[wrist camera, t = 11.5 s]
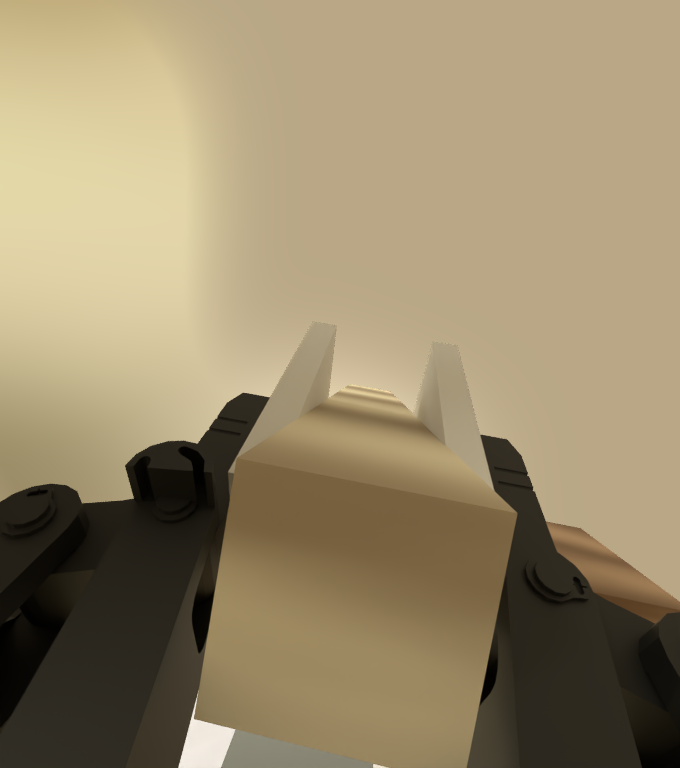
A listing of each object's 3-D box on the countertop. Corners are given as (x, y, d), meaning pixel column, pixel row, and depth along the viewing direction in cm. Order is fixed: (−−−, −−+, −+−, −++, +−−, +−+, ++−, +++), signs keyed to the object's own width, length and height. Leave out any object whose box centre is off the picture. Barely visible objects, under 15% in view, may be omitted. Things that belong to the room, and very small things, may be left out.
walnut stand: (587, 1112, 23) (695, 613, 22) (362, 1042, 24) (452, 562, 23) (513, 860, 35) (580, 528, 34) (365, 820, 36) (424, 497, 35)
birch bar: (463, 786, 4) (517, 513, 4) (193, 719, 4) (236, 458, 4) (382, 430, 28) (389, 391, 28) (343, 423, 28) (350, 384, 28)
